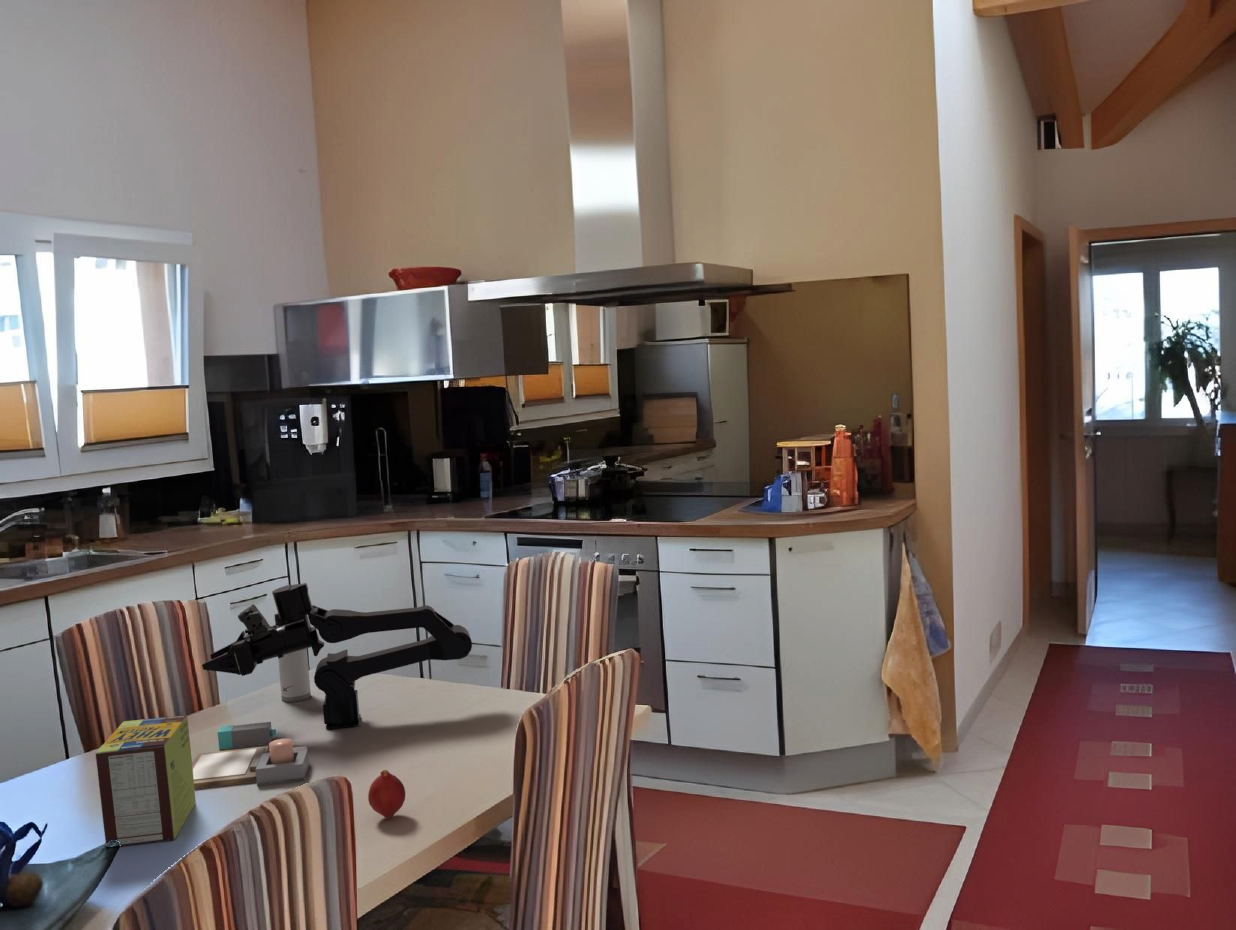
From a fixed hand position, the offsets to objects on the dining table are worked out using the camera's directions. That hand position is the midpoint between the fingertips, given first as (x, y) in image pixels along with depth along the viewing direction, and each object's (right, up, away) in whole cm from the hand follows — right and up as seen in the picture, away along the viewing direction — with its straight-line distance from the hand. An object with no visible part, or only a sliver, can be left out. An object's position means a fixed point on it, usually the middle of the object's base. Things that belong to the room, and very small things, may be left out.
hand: (206, 661), depth 214 cm
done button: (+21, -15, -21) cm, 33 cm away
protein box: (+6, -19, -39) cm, 44 cm away
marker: (+9, -16, -2) cm, 18 cm away
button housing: (+22, -17, -20) cm, 34 cm away
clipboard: (+10, -17, -16) cm, 25 cm away
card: (+19, -16, -10) cm, 27 cm away
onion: (+45, -17, -42) cm, 64 cm away
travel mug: (+10, -13, +26) cm, 31 cm away
